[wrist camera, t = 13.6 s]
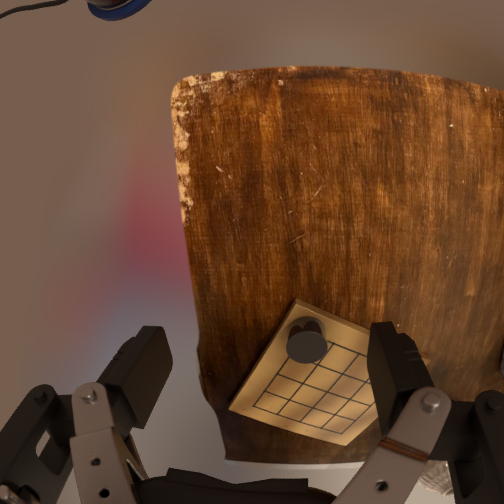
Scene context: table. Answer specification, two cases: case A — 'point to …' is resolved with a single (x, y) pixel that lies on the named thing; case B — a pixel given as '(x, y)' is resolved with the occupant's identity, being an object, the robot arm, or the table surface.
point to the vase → (437, 478)
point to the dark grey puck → (306, 340)
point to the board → (313, 382)
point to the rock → (502, 365)
